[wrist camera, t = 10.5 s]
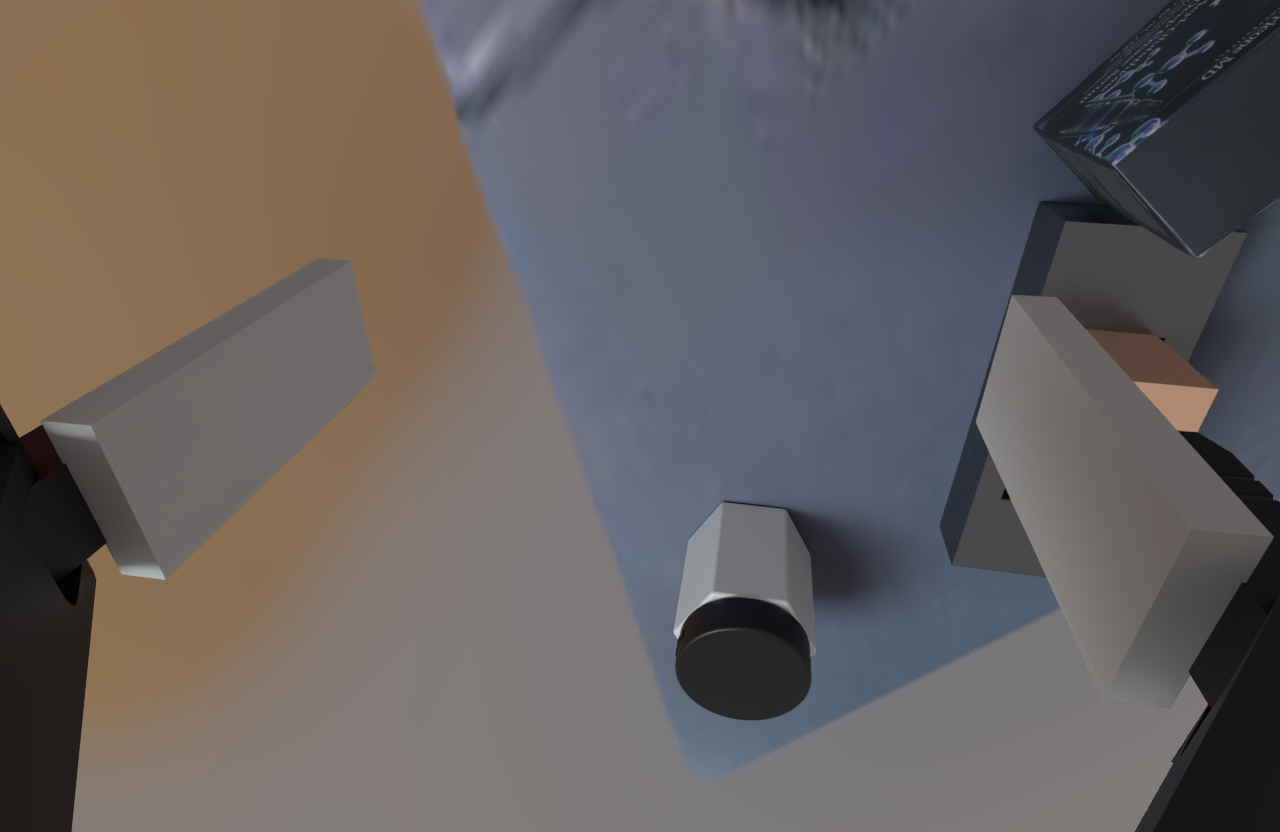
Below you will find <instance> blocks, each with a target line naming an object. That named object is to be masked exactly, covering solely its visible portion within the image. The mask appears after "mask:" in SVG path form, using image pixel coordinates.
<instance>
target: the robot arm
mask: <svg viewBox="0 0 1280 832" xmlns="http://www.w3.org/2000/svg"><path fill="white" fill-rule="evenodd" d="M375 377H377V374H376V370H375V365H374V361H373V357H372V352H371V348H370V344H369V340H368V335H367V330H366V326H365V322H364V317H363V313H362V309H361V304H360V300H359V295H358V291H357V287H356V282H355V278H354V274H353V269H352V266H351V261H349V260H328V259H316V260H314V261H313V262H311V263H309V264H308V265H306V266H304V267H302V268H301V269H299V270H297V271H296V272H294V273H292V274H291V275H289V276H287V277H285V278H284V279H282V280H280V281H279V282H277V283H275V284H273V285H272V286H270V287H269V288H267V289H265V290H263V291H261V292H260V293H258V294H256V295H255V296H253V297H251V298H249V299H248V300H246V301H244V302H243V303H241V304H239V305H237V306H236V307H234V308H232V309H231V310H229V311H227V312H226V313H224V314H222V315H220V316H219V317H217V318H215V319H214V320H212V321H210V322H208V323H207V324H205V325H203V326H202V327H200V328H198V329H197V330H195V331H193V332H191V333H190V334H188V335H186V336H185V337H183V338H181V339H180V340H178V341H176V342H174V343H173V344H171V345H169V346H167V347H166V348H164V349H162V350H161V351H159V352H157V353H155V354H154V355H152V356H150V357H149V358H147V359H145V360H144V361H142V362H140V363H139V364H137V365H135V366H133V367H132V368H130V369H128V370H127V371H125V372H123V373H121V374H120V375H118V376H117V377H114V378H113V379H111V380H109V381H108V382H106V383H104V384H103V385H101V386H99V387H98V388H96V389H94V390H92V391H91V392H89V393H87V394H86V395H84V396H82V397H80V398H79V399H77V400H75V401H74V402H72V403H70V404H68V405H67V406H65V407H63V408H62V409H60V410H58V411H57V412H55V413H53V414H51V415H50V416H48V417H46V418H44V419H43V420H41V423H42V425H41V426H39V427H37V428H36V429H34V430H32V431H31V432H29V433H27V434H25V435H24V436H22V437H20V438H19V437H18V435H17V433H16V431H15V430H14V428H13V426H12V424H11V423H10V421H9V419H8V417H7V415H6V414H5V412H4V410H3V408H2V406H1V405H0V832H71V830H72V820H73V810H74V800H75V790H76V780H77V769H78V759H79V749H80V739H81V729H82V718H83V709H84V699H85V688H86V677H87V667H88V657H89V647H90V638H91V627H92V618H93V606H94V596H95V587H96V578H95V575H94V571H93V570H92V568H91V566H90V564H89V562H88V561H87V558H89V557H90V556H91V555H92V554H93V553H95V552H96V551H97V550H99V548H101V547H102V546H103V545H105V544H106V545H107V547H108V549H109V551H110V553H111V555H112V557H113V559H114V560H115V562H116V564H117V566H118V568H119V570H120V572H121V574H125V575H134V576H141V577H149V578H156V579H164V580H166V579H167V578H168V577H169V576H170V575H171V574H172V573H173V572H174V571H175V570H177V569H178V568H179V567H180V566H181V565H182V564H183V563H184V562H185V561H186V560H187V559H188V558H189V557H190V556H191V555H192V554H193V553H194V552H195V551H196V550H197V549H198V548H199V547H200V546H201V545H202V544H204V542H206V540H207V539H209V538H210V537H211V536H212V535H213V534H214V533H215V532H216V531H217V530H218V529H219V528H220V527H221V526H222V525H223V524H224V523H225V522H226V521H227V520H228V519H229V518H230V517H231V516H233V515H234V514H235V513H236V512H237V511H238V510H239V509H240V508H241V507H242V506H243V505H244V504H245V503H246V502H247V501H248V500H249V499H250V498H251V497H252V496H253V495H254V494H255V493H256V492H257V491H258V490H259V489H260V488H261V487H263V486H264V485H265V484H266V483H267V482H268V481H269V480H270V479H271V478H272V477H273V476H274V475H275V474H276V473H277V472H278V471H279V470H280V469H281V468H282V467H283V466H284V465H285V464H286V463H287V462H288V461H290V460H291V459H292V458H293V457H294V455H296V454H297V453H298V452H299V451H300V450H301V449H302V448H303V447H304V446H305V445H306V444H307V443H308V442H309V441H310V440H311V439H312V438H313V437H314V436H315V435H316V434H317V433H318V432H320V431H321V430H322V429H323V428H324V427H325V426H326V425H327V424H328V423H329V422H330V421H331V420H332V419H333V418H334V417H335V416H336V415H337V414H338V413H339V412H340V411H341V410H342V409H343V408H344V407H345V406H346V405H348V403H350V401H352V400H353V399H354V398H355V397H356V396H357V395H358V394H359V393H360V392H361V391H362V390H363V389H364V388H365V387H366V386H367V385H368V384H369V383H370V382H371V381H372V380H373V379H374V378H375ZM976 424H977V426H978V428H979V431H980V433H981V435H982V437H983V439H984V442H985V444H986V446H987V448H988V450H989V452H990V455H991V457H992V459H993V461H994V463H995V466H996V468H997V470H998V472H999V474H1000V477H1001V479H1002V481H1003V483H1004V485H1005V488H1006V490H1007V492H1008V494H1009V496H1010V498H1011V501H1012V503H1013V505H1014V507H1015V509H1016V512H1017V514H1018V516H1019V518H1020V520H1021V523H1022V525H1023V527H1024V529H1025V531H1026V533H1027V536H1028V538H1029V540H1030V542H1031V544H1032V547H1033V549H1034V551H1035V553H1036V555H1037V558H1038V560H1039V562H1040V564H1041V566H1042V568H1043V571H1044V573H1045V575H1046V577H1047V579H1048V582H1049V584H1050V586H1051V588H1052V590H1053V593H1054V595H1055V597H1056V599H1057V601H1058V604H1059V606H1060V608H1061V610H1062V612H1063V614H1064V617H1065V619H1066V621H1067V623H1068V625H1069V628H1070V630H1071V632H1072V634H1073V636H1074V639H1075V641H1076V643H1077V645H1078V647H1079V649H1080V652H1081V654H1082V656H1083V658H1084V660H1085V662H1086V665H1087V667H1088V669H1089V671H1090V674H1091V676H1092V678H1093V680H1094V682H1095V685H1096V687H1097V689H1098V691H1099V693H1100V695H1101V698H1102V700H1106V701H1114V702H1121V703H1130V704H1138V705H1145V706H1153V707H1161V708H1168V709H1170V708H1171V706H1172V705H1173V703H1174V701H1175V700H1176V698H1177V696H1178V695H1179V693H1180V692H1181V690H1182V688H1183V687H1184V685H1185V683H1186V682H1187V680H1188V678H1189V677H1190V675H1191V676H1192V678H1193V680H1194V681H1195V683H1196V685H1197V686H1198V688H1199V690H1200V691H1201V693H1202V695H1203V696H1204V698H1205V700H1206V701H1207V703H1208V706H1207V707H1206V709H1205V710H1204V712H1203V713H1202V715H1201V716H1200V718H1199V720H1198V721H1197V723H1196V724H1195V726H1194V727H1193V729H1192V730H1191V732H1190V734H1189V735H1188V737H1187V738H1186V740H1185V741H1184V743H1183V745H1182V746H1181V747H1180V749H1179V750H1178V752H1177V754H1176V755H1175V757H1174V758H1173V760H1172V762H1173V765H1172V767H1171V769H1170V770H1169V772H1168V774H1167V776H1166V777H1165V779H1164V781H1163V783H1162V785H1161V786H1160V788H1159V790H1158V792H1157V793H1156V795H1155V797H1154V799H1153V800H1152V802H1151V804H1150V806H1149V807H1148V809H1147V811H1146V813H1145V815H1144V816H1143V818H1142V820H1141V822H1140V823H1139V825H1138V827H1137V829H1136V831H1135V832H1280V502H1279V501H1276V500H1273V495H1272V494H1271V493H1270V492H1269V491H1268V490H1267V489H1266V487H1265V486H1264V485H1263V484H1262V483H1261V482H1260V481H1254V477H1255V476H1254V475H1253V474H1252V473H1251V472H1250V471H1249V470H1248V469H1247V468H1246V467H1245V466H1244V465H1243V464H1242V463H1241V462H1240V461H1239V460H1238V459H1237V458H1236V457H1235V456H1234V455H1233V454H1232V453H1231V452H1229V451H1228V450H1226V449H1224V448H1222V447H1221V446H1219V445H1217V444H1216V443H1214V442H1212V441H1211V440H1209V439H1207V438H1206V437H1204V436H1202V435H1201V434H1199V433H1197V432H1190V431H1177V429H1176V428H1175V427H1174V426H1173V425H1172V424H1171V423H1170V422H1169V421H1168V419H1167V418H1166V417H1165V416H1164V415H1163V414H1162V413H1161V412H1160V411H1159V410H1158V408H1157V407H1156V406H1155V405H1154V404H1153V403H1152V402H1151V401H1150V400H1149V398H1148V397H1147V396H1146V395H1145V394H1144V393H1143V392H1142V391H1141V390H1140V389H1139V387H1138V386H1137V385H1136V384H1135V383H1134V382H1133V381H1132V380H1131V379H1130V378H1129V376H1128V375H1127V374H1126V373H1125V372H1124V371H1123V370H1122V369H1121V368H1120V366H1119V365H1118V364H1117V363H1116V362H1115V361H1114V360H1113V359H1112V358H1111V357H1110V355H1109V354H1108V353H1107V352H1106V351H1105V350H1104V349H1103V348H1102V347H1101V345H1100V344H1099V343H1098V342H1097V341H1096V340H1095V339H1094V338H1093V337H1092V336H1091V334H1090V333H1089V332H1088V331H1087V330H1086V329H1085V328H1084V327H1083V326H1082V325H1081V323H1080V322H1079V321H1078V320H1077V319H1076V318H1075V317H1074V316H1073V315H1072V313H1071V312H1070V311H1069V310H1068V309H1067V308H1066V307H1065V306H1064V305H1063V304H1062V302H1061V301H1060V300H1059V299H1058V298H1057V297H1045V296H1026V295H1012V297H1011V300H1010V304H1009V307H1008V311H1007V314H1006V318H1005V321H1004V325H1003V328H1002V332H1001V335H1000V339H999V342H998V346H997V349H996V353H995V356H994V360H993V363H992V367H991V370H990V374H989V377H988V381H987V384H986V388H985V391H984V395H983V398H982V402H981V405H980V409H979V412H978V416H977V420H976Z"/></svg>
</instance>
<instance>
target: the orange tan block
mask: <svg viewBox="0 0 1280 832" xmlns="http://www.w3.org/2000/svg"><path fill="white" fill-rule="evenodd" d="M1086 330H1087V331H1088V332H1089V333H1090V334H1091V336H1092V337H1093V338H1094V339H1095V340H1096V341H1097V342H1098V343H1099V344H1100V345H1101V347H1102V348H1103V349H1104V350H1105V351H1106V352H1107V353H1108V354H1109V355H1110V357H1111V358H1112V359H1113V360H1114V361H1115V362H1116V363H1117V364H1118V365H1119V366H1120V368H1121V369H1122V370H1123V371H1124V372H1125V373H1126V374H1127V375H1128V376H1129V378H1130V379H1131V380H1132V381H1133V382H1134V383H1135V384H1136V385H1137V386H1138V387H1139V389H1140V390H1141V391H1142V392H1143V393H1144V394H1145V395H1146V396H1147V397H1148V398H1149V400H1150V401H1151V402H1152V403H1153V404H1154V405H1155V406H1156V407H1157V408H1158V410H1159V411H1160V412H1161V413H1162V414H1163V415H1164V416H1165V417H1166V418H1167V419H1168V421H1169V422H1170V423H1171V424H1172V425H1173V426H1174V427H1175V428H1176V429H1177V431H1190V432H1198V430H1199V428H1200V426H1201V424H1202V422H1203V420H1204V418H1205V416H1206V414H1207V412H1208V410H1209V408H1210V406H1211V404H1212V402H1213V400H1214V398H1215V396H1216V394H1217V392H1218V390H1219V389H1218V388H1217V387H1216V386H1214V385H1213V384H1212V383H1211V382H1210V381H1209V380H1207V379H1206V378H1205V377H1204V376H1203V375H1202V374H1200V373H1199V372H1198V371H1197V370H1196V369H1195V368H1193V367H1192V366H1191V365H1190V364H1189V363H1188V362H1186V361H1185V360H1184V359H1183V358H1182V357H1181V356H1179V355H1178V354H1177V353H1176V352H1175V351H1174V350H1173V349H1171V348H1170V347H1169V346H1168V345H1167V344H1166V343H1164V342H1163V341H1162V340H1161V339H1160V338H1159V337H1157V336H1156V335H1149V334H1137V333H1125V332H1114V331H1102V330H1090V329H1086ZM1010 500H1011V498H1010ZM1011 502H1012V501H1011ZM1012 504H1013V503H1012ZM1013 506H1014V505H1013ZM1014 508H1015V507H1014ZM1015 510H1016V509H1015ZM1016 513H1017V512H1016ZM1017 515H1018V514H1017ZM1018 517H1019V516H1018ZM1019 519H1020V518H1019ZM1020 521H1021V520H1020Z"/></svg>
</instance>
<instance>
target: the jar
mask: <svg viewBox="0 0 1280 832" xmlns="http://www.w3.org/2000/svg"><path fill="white" fill-rule="evenodd" d="M674 634H675V636H676V637H677V639H678V642H677V648H676V663H675V669H676V676H677V679H678V681H679V683H680V685H681V687H682V688H683V690H684V691H685V693H686V694H687V695H688V696H689V697H690V698H691V699H692V700H693V701H695V702H696V703H697V704H699V705H700V706H702V707H703V708H705V709H707V710H709V711H711V712H713V713H716V714H718V715H721V716H724V717H728V718H733V719H739V720H764V719H770V718H774V717H778V716H781V715H783V714H785V713H787V712H789V711H791V710H793V709H794V708H795V707H797V706H798V705H799V704H800V703H801V702H802V701H803V700H804V698H805V697H806V696H807V694H808V692H809V689H810V686H811V657H812V656H813V655H814V654H815V653H816V636H815V620H814V604H813V587H812V571H811V555H810V553H809V551H808V549H807V547H806V546H805V544H804V542H803V540H802V538H801V536H800V534H799V532H798V531H797V529H796V527H795V525H794V523H793V521H792V519H791V518H790V516H789V514H788V512H787V510H785V509H780V508H771V507H762V506H753V505H745V504H736V503H728V502H723V503H721V504H720V505H719V506H718V508H717V509H716V510H715V511H714V512H713V513H712V514H711V515H710V517H709V518H708V519H707V520H706V521H705V522H704V523H703V524H702V526H701V527H700V528H699V529H698V530H697V531H696V532H695V533H694V535H693V536H692V537H691V538H690V539H689V541H688V547H687V553H686V559H685V565H684V571H683V577H682V583H681V589H680V595H679V601H678V607H677V613H676V619H675V625H674Z"/></svg>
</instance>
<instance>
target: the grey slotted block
mask: <svg viewBox="0 0 1280 832" xmlns="http://www.w3.org/2000/svg"><path fill="white" fill-rule="evenodd" d="M1247 234H1248V233H1247V232H1245V231H1242V230H1240V229H1238V228H1237V229H1236V230H1235V231H1233V232H1232V233H1231V234H1229V235H1228V236H1227V237H1225V238H1224V239H1223V240H1221V241H1220V242H1219V243H1217V244H1216V245H1215V246H1213V247H1212V248H1211V249H1210V250H1209V251H1207V252H1206V253H1205V254H1204V255H1203V256H1201V257H1197V258H1196V257H1191V256H1189V255H1187V254H1186V253H1184V252H1182V251H1180V250H1179V249H1177V248H1175V247H1173V246H1172V245H1170V244H1169V243H1167V242H1165V241H1164V240H1163V239H1161V238H1160V237H1158V236H1157V235H1155V234H1153V233H1151V232H1150V231H1149V230H1147V229H1145V228H1143V227H1142V226H1140V225H1139V224H1136V223H1135V222H1133V221H1132V220H1131V219H1129V218H1127V217H1125V216H1124V215H1122V214H1121V213H1120V212H1118V211H1116V210H1115V209H1113V208H1112V207H1110V206H1098V205H1082V204H1065V203H1049V202H1039V204H1038V208H1037V211H1036V214H1035V217H1034V221H1033V224H1032V227H1031V230H1030V234H1029V237H1028V240H1027V243H1026V247H1025V250H1024V253H1023V256H1022V260H1021V263H1020V266H1019V269H1018V273H1017V276H1016V279H1015V282H1014V286H1013V289H1012V292H1011V295H1010V299H1009V302H1008V305H1007V308H1006V312H1005V315H1004V318H1003V321H1002V325H1001V328H1000V331H999V334H998V338H997V341H996V344H995V347H994V351H993V354H992V357H991V360H990V364H989V367H988V370H987V373H986V377H985V380H984V383H983V386H982V390H981V393H980V396H979V399H978V403H977V406H976V409H975V412H974V416H973V419H972V422H971V425H970V429H969V432H968V435H967V438H966V442H965V445H964V448H963V451H962V455H961V458H960V461H959V464H958V468H957V471H956V474H955V477H954V481H953V484H952V487H951V490H950V494H949V497H948V500H947V504H946V507H945V510H944V513H943V517H942V520H941V523H940V529H941V532H942V535H943V539H944V542H945V545H946V548H947V551H948V554H949V558H950V561H951V564H952V565H954V566H962V567H970V568H977V569H985V570H993V571H1001V572H1009V573H1017V574H1024V575H1032V576H1040V577H1046V575H1045V573H1044V571H1043V568H1042V566H1041V564H1040V562H1039V560H1038V558H1037V555H1036V553H1035V551H1034V549H1033V547H1032V544H1031V542H1030V540H1029V538H1028V536H1027V533H1026V531H1025V529H1024V527H1023V525H1022V523H1021V521H1020V519H1019V517H1018V515H1017V513H1016V510H1015V508H1014V506H1013V504H1012V502H1011V500H1010V496H1009V494H1008V492H1007V490H1006V488H1005V485H1004V483H1003V481H1002V479H1001V477H1000V474H999V472H998V470H997V468H996V466H995V463H994V461H993V459H992V457H991V455H990V452H989V450H988V448H987V446H986V444H985V442H984V439H983V437H982V435H981V433H980V431H979V428H978V426H977V424H976V420H977V416H978V412H979V409H980V405H981V402H982V398H983V395H984V391H985V388H986V384H987V381H988V377H989V374H990V370H991V367H992V363H993V360H994V356H995V353H996V349H997V346H998V342H999V339H1000V335H1001V332H1002V328H1003V325H1004V321H1005V318H1006V314H1007V311H1008V307H1009V304H1010V300H1011V297H1012V295H1026V296H1045V297H1057V298H1058V299H1059V300H1060V301H1061V302H1062V304H1063V305H1064V306H1065V307H1066V308H1067V309H1068V310H1069V311H1070V312H1071V313H1072V315H1073V316H1074V317H1075V318H1076V319H1077V320H1078V321H1079V322H1080V323H1081V325H1082V326H1083V327H1084V328H1085V329H1090V330H1102V331H1114V332H1125V333H1137V334H1149V335H1156V336H1157V337H1159V338H1160V339H1161V340H1162V341H1163V342H1164V343H1166V344H1167V345H1168V346H1169V347H1170V348H1171V349H1173V350H1174V351H1175V352H1176V353H1177V354H1178V355H1179V356H1181V357H1182V358H1183V359H1184V360H1185V361H1186V362H1188V361H1189V358H1190V356H1191V354H1192V352H1193V350H1194V348H1195V345H1196V343H1197V341H1198V339H1199V337H1200V335H1201V333H1202V330H1203V328H1204V326H1205V324H1206V322H1207V320H1208V318H1209V315H1210V313H1211V311H1212V309H1213V307H1214V305H1215V303H1216V300H1217V298H1218V296H1219V294H1220V292H1221V290H1222V288H1223V285H1224V283H1225V281H1226V279H1227V277H1228V275H1229V272H1230V270H1231V268H1232V266H1233V264H1234V262H1235V260H1236V257H1237V255H1238V253H1239V251H1240V249H1241V247H1242V245H1243V242H1244V240H1245V238H1246V236H1247Z"/></svg>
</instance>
